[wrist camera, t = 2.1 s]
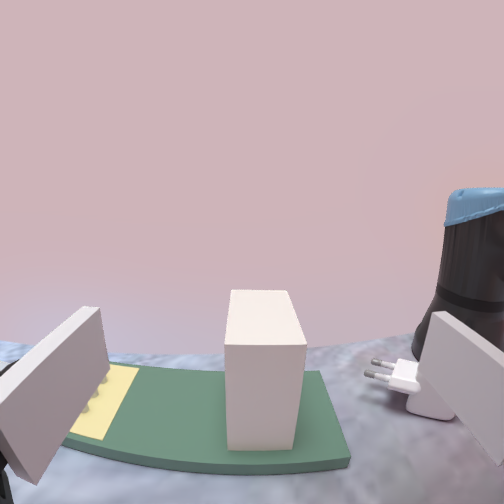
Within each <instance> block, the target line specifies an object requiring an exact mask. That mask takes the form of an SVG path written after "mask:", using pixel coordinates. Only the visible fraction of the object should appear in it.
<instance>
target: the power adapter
mask: <svg viewBox="0 0 504 504" xmlns="http://www.w3.org/2000/svg"><path fill="white" fill-rule="evenodd" d="M371 364H372V365H376V366H380V367H385V368H389V369H392V370H393V372H392V375H391V376H390V375H384V374H380V373H377V372H374V371H370V370H365V372H364V376H366V377H370V378H375V379H379V380H382V381H385V382H389V384H388V387H387V389H390V390H394V391H398V392H402V393H406V394H409V396H408V399H407V403H406V409H407V410H408V411H409V412H411V413H414V414H417V415H421V416H426V417H430V418H435V419H440V420H451V419H452V418H453V417H454V416H455V415H456V414H455V413H454V412H453V410H452V409H451V408H450V407H449V406H448V404H447V403H446V402H445V401H444V400H443V399H442V397H441V396H440V395H439V394H438V393H437V391H436V390H435V389H434V388H433V387H432V386H431V384H430V383H429V382H428V381H427V380H426V379H425V378H424V376H423V375H422V374H421V373H420V372H419V371H418V369H417V367H418V364H419V363H417V362H413V361H408V360H404V359H400V358H399V359H398V361H397V363H396V364H395V363H389V362H385V361H382V360H379V359H375V358H373V359H372V360H371Z"/></svg>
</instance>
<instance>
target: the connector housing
mask: <svg viewBox="0 0 504 504" xmlns="http://www.w3.org/2000/svg"><path fill="white" fill-rule="evenodd" d="M224 346H225V391H226V423H227V448H228V450H234V451H270V450H292V447H293V441H294V435H295V429H296V423H297V417H298V410H299V404H300V397H301V390H302V382H303V375H304V367H305V359H306V351H307V342H306V340H305V337H304V334H303V332H302V329H301V326H300V324H299V321H298V319H297V316H296V313H295V311H294V308H293V305H292V303H291V300H290V297H289V295H288V292H287V290H231V297H230V305H229V313H228V320H227V328H226V336H225V344H224Z"/></svg>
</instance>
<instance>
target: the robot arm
mask: <svg viewBox="0 0 504 504" xmlns="http://www.w3.org/2000/svg"><path fill="white" fill-rule="evenodd" d="M447 205H448V206H447V214H446V220H445V222H444V227H445V234H444V244H443V251H442V257H441V264H440V271H439V276H438V282H437V287H436V292H435V296H434V298H433V300H432V303H431V304H430V306H429V308H428V310H427V312H426V314H425V316H424V318H423V320H422V322H421V323H420V324H419V326H418V327H417V329H416V331H415V335H414V339H413V343H412V351H413V353H414V355H415V357H416V358H417V359H418V360H419V364H418V367H417V369H418V371H419V372H420V373H421V374H422V375H423V376H424V378H425V379H426V380H427V381H428V382H429V383H430V384H431V386H432V387H433V388H434V389H435V390H436V391H437V393H438V394H439V395H440V396H441V397H442V399H443V400H444V401H445V402H446V403H447V404H448V406H449V407H450V408H451V409H452V410H453V412H454V413H455V414H456V415H457V416H458V418H459V419H460V420H461V421H462V423H463V424H464V425H465V426H466V427H467V429H468V430H469V431H470V432H471V434H472V435H473V436H474V437H475V439H476V440H477V441H478V442H479V444H480V445H481V446H482V447H483V449H484V450H485V451H486V452H487V454H488V455H489V456H490V458H491V459H492V460H493V461H494V463H495V464H496V465H497V467H499V466H501V465H503V464H504V188H467V189H459V190H456V191H454V192H453V193H452V194H451V195H450V196H449V199H448V204H447ZM109 370H110V364H109V359H108V354H107V349H106V344H105V338H104V332H103V326H102V320H101V313H100V308H97V307H87V306H83V307H81V308H80V309H79V310H78V311H77V312H75V313H74V314H73V315H72V316H70V317H69V318H68V319H67V320H65V321H64V322H63V323H62V324H61V325H59V326H58V327H57V328H56V329H55V330H54V331H52V332H51V333H50V334H49V335H47V336H46V337H45V338H44V339H43V340H42V341H40V342H39V343H38V344H37V345H36V346H35V347H33V348H32V349H31V350H30V351H29V352H28V353H27V354H25V355H24V356H23V357H22V358H21V359H19V360H17V361H15V362H13V363H11V364H9V365H7V366H6V367H5V368H4V369H3V370H1V371H0V504H14V503H13V499H12V494H11V490H10V485H9V481H8V477H7V474H6V472H5V471H4V468H5V466H6V465H7V463H8V464H9V466H10V467H11V469H12V470H13V471H14V473H15V474H16V476H18V477H20V478H22V479H24V480H26V481H28V482H30V483H32V484H34V485H36V486H37V484H38V482H39V480H40V479H41V477H42V475H43V474H44V472H45V470H46V469H47V467H48V465H49V464H50V462H51V460H52V459H53V457H54V455H55V454H56V452H57V450H58V449H59V447H60V445H61V444H62V442H63V441H64V439H65V437H66V436H67V434H68V433H69V431H70V429H71V428H72V426H73V425H74V423H75V422H76V420H77V418H78V417H79V415H80V414H81V412H82V411H83V409H84V408H85V406H86V405H87V403H88V401H89V400H90V398H91V397H92V395H93V394H94V392H95V391H96V389H97V388H98V386H99V385H100V383H101V382H102V380H103V379H104V377H105V376H106V374H107V373H108V372H109Z"/></svg>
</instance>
